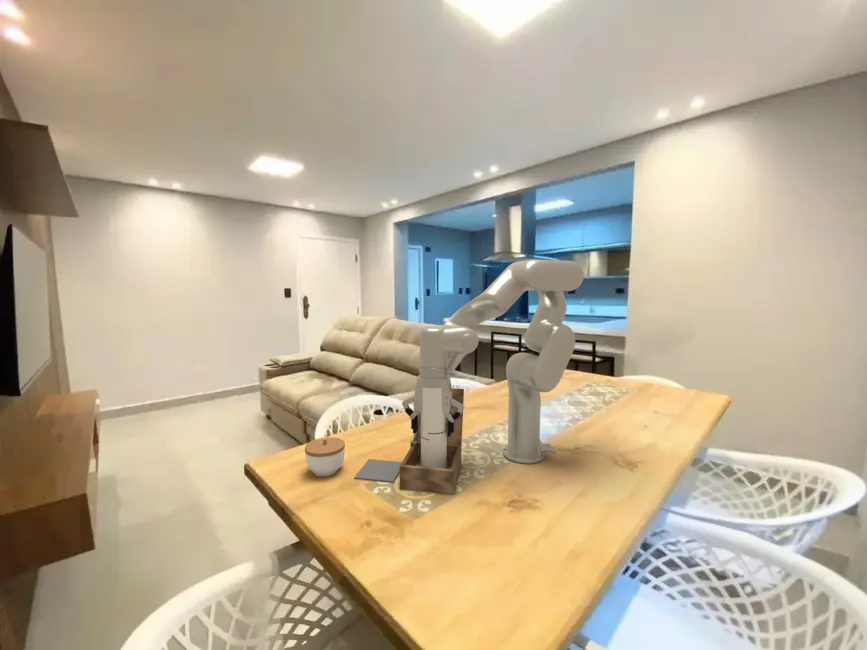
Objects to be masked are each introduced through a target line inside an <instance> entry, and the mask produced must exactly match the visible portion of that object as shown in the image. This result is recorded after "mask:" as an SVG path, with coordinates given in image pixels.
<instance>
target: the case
mask: <svg viewBox="0 0 867 650" xmlns="http://www.w3.org/2000/svg"><path fill="white" fill-rule="evenodd" d="M451 388H452V399H454V400H456V401H458V402H459V403H461V404H463V405H464V401H465V399H464V397H465V389H464V388H453V387H451ZM451 411H452V413H453V414H455V413H456V412H457V411H458V408H457V407H455V406H453V405H452V409H451ZM417 416H418V430H417V432H416V433H415V434H414V433H413V439H412V440H411V441H410V444H409V445H410V447H409V450H408V451H407V453H406V455H405V456H404V458H403V460H402V461H401V462H402V463H401V465H400V466H399V469H400V472H399V489H400V490H406V491H407V490H409V491H417V492H428V493H437V494H444V495H445V494H446V495H455V493H456V492H455V491H456V489H457V488H456V487H457V484H458V483H457V482H458V480H459V475H460V471H461V468H462V445H463V442H462V441H463V440H462V439H463V422H464V421H463V420H464V419H463V418H464V410H463V411H462V413H461V415H460V416H459V417H458V418H457V419H456V420H455V421H454V432H453V433H451V436H450V437H448V421H449V419H448V418H447V466H451V467H450V468H447V469H442V468H432V467H421V465H418V466H417V464H418V463H420V464H421V413H418V414H417Z"/></svg>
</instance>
